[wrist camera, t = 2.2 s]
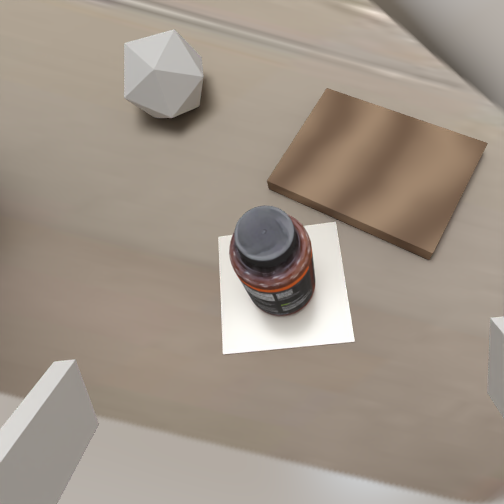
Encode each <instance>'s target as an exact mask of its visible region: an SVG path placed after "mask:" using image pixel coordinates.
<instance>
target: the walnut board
mask: <svg viewBox="0 0 504 504" xmlns="http://www.w3.org/2000/svg"><path fill="white" fill-rule="evenodd" d="M487 144H488V143H486V142H483V141H480V140H477V139H474V138H471V137H468V136H465V135H462V134H459V133H456V132H453V131H451V130H448V129H445V128H442V127H439V126H436V125H433V124H430V123H427V122H424V121H421V120H418V119H416V118H413V117H410V116H407V115H404V114H401V113H398V112H395V111H392V110H389V109H386V108H383V107H381V106H378V105H375V104H372V103H369V102H366V101H363V100H360V99H357V98H354V97H351V96H348V95H345V94H343V93H340V92H337V91H334V90H331V89H328V88H327V89H326V90H325V92H324V93H323V95H322V96H321V98H320V99H319V101H318V102H317V104H316V106H315V107H314V109H313V110H312V112H311V113H310V115H309V116H308V118H307V120H306V121H305V123H304V124H303V126H302V127H301V129H300V130H299V132H298V133H297V135H296V137H295V138H294V140H293V141H292V143H291V144H290V146H289V147H288V149H287V151H286V152H285V154H284V155H283V157H282V158H281V160H280V161H279V163H278V164H277V166H276V168H275V169H274V171H273V172H272V174H271V175H270V177H269V178H268V180H267V183H268V187H269V189H270V190H273V191H275V192H277V193H279V194H282V195H284V196H286V197H288V198H291V199H293V200H295V201H297V202H300V203H302V204H304V205H306V206H309V207H311V208H313V209H315V210H318V211H320V212H322V213H324V214H327V215H329V216H331V217H333V218H336V219H338V220H340V221H342V222H345V223H347V224H349V225H351V226H354V227H356V228H358V229H360V230H363V231H365V232H367V233H369V234H372V235H374V236H376V237H378V238H381V239H383V240H385V241H387V242H390V243H392V244H394V245H396V246H399V247H401V248H403V249H405V250H408V251H410V252H412V253H414V254H417V255H419V256H421V257H423V258H426V259H428V260H429V259H430V258H431V256H432V254H433V252H434V250H435V248H436V246H437V244H438V242H439V240H440V238H441V236H442V234H443V232H444V230H445V228H446V226H447V224H448V222H449V220H450V218H451V216H452V214H453V212H454V210H455V208H456V206H457V204H458V202H459V200H460V198H461V196H462V194H463V192H464V190H465V188H466V186H467V184H468V182H469V180H470V178H471V176H472V174H473V172H474V170H475V168H476V166H477V164H478V162H479V160H480V158H481V156H482V154H483V152H484V150H485V148H486V146H487Z"/></svg>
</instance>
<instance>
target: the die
mask: <svg viewBox="0 0 504 504" xmlns="http://www.w3.org/2000/svg"><path fill="white" fill-rule="evenodd" d="M202 84H203V67H202V57H201V56H200V55H199V54H198V53H197V52H196V51H195V50H194V49H193V48H192V47H191V46H190V45H189V44H188V43H187V42H186V41H185V39H184V38H183V37H182V36H181V35H180V34H179V33H178V32H177V31H176V30H175V29H174V30H170V31H167V32H163V33H159V34H156V35H152V36H149V37H145V38H141V39H138V40H134V41H130V42H127V43H124V98H125V99H127V100H128V101H130V102H131V103H133V104H134V105H136V106H137V107H139V108H140V109H142V110H143V111H145V112H147V113H148V114H150V115H151V116H153V117H154V118H173V117H176V116H178V115H180V114H183V113H185V112H187V111H190V110H192V109H195V108H197V107H199V106H200V99H201V91H202Z"/></svg>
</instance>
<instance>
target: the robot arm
mask: <svg viewBox="0 0 504 504" xmlns="http://www.w3.org/2000/svg"><path fill="white" fill-rule="evenodd" d="M487 393H488V395H489V396H490V398H491V399H492V401H493V402H494V404H495V406H496V407H497V409H498V410H499V412H500V414H501V415H502V417H503V418H504V316H503V317H493V318H490V335H489V362H488V389H487ZM98 425H99V423H98V420H97V417H96V414H95V412H94V409H93V406H92V403H91V401H90V398H89V395H88V392H87V390H86V387H85V384H84V381H83V379H82V376H81V373H80V370H79V368H78V365H77V362H76V359H75V360H65V361H55V362H53V364H52V365H51V366H50V367H49V369H48V370H47V371H46V372H45V374H44V375H43V376H42V377H41V379H40V380H39V381H38V382H37V384H36V385H35V386H34V387H33V389H32V390H31V391H30V392H29V394H28V395H27V396H26V397H25V399H24V400H23V401H22V402H21V404H20V405H19V406H18V407H17V409H16V410H15V411H14V412H13V414H12V415H11V416H10V418H9V419H8V420H7V421H6V423H5V424H4V425H3V426H2V427H1V429H0V504H57V503H58V501H59V499H60V497H61V495H62V493H63V491H64V490H65V488H66V486H67V484H68V482H69V480H70V478H71V476H72V474H73V472H74V471H75V469H76V467H77V465H78V463H79V461H80V459H81V457H82V455H83V454H84V452H85V450H86V448H87V446H88V444H89V442H90V440H91V438H92V437H93V435H94V433H95V431H96V429H97V427H98Z"/></svg>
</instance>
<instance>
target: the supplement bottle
mask: <svg viewBox="0 0 504 504" xmlns="http://www.w3.org/2000/svg"><path fill="white" fill-rule="evenodd" d="M229 257H230V261H231V264H232V267H233V269H234V271H235V273H236V275H237V276H238V278H239V280H240V281H241V283H242V285H243V286H244V288H245V290H246V291H247V293H248V294H249V296H250V298H251V300H252V301H253V303H254V304H255V305H256V306H257V307H258V308H259V309H261V310H262V311H264V312H265V313H267V314H270V315H274V316H287V315H291V314H294V313H296V312H298V311H300V310H301V309H303V308H304V307H305V306H306V305H307V304H308V303H309V301H310V300H311V298H312V296H313V293H314V289H315V271H314V262H313V253H312V246H311V241H310V238H309V235H308V233H307V231H306V229H305V228H304V227H303V225H302V224H301V223H300V222H299V221H298V220H296V219H295V218H293V217H292V216H290V215H288V214H286V213H285V212H284V211H282V210H281V209H279V208H276V207H273V206H259V207H255V208H253V209H251V210H249V211H247V212H246V213H245V214H244V215H243V216H242V217H241V218H240V219H239V221H238V222H237V225H236V228H235V232H234V233H233V236H232V238H231V241H230V246H229Z"/></svg>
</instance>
